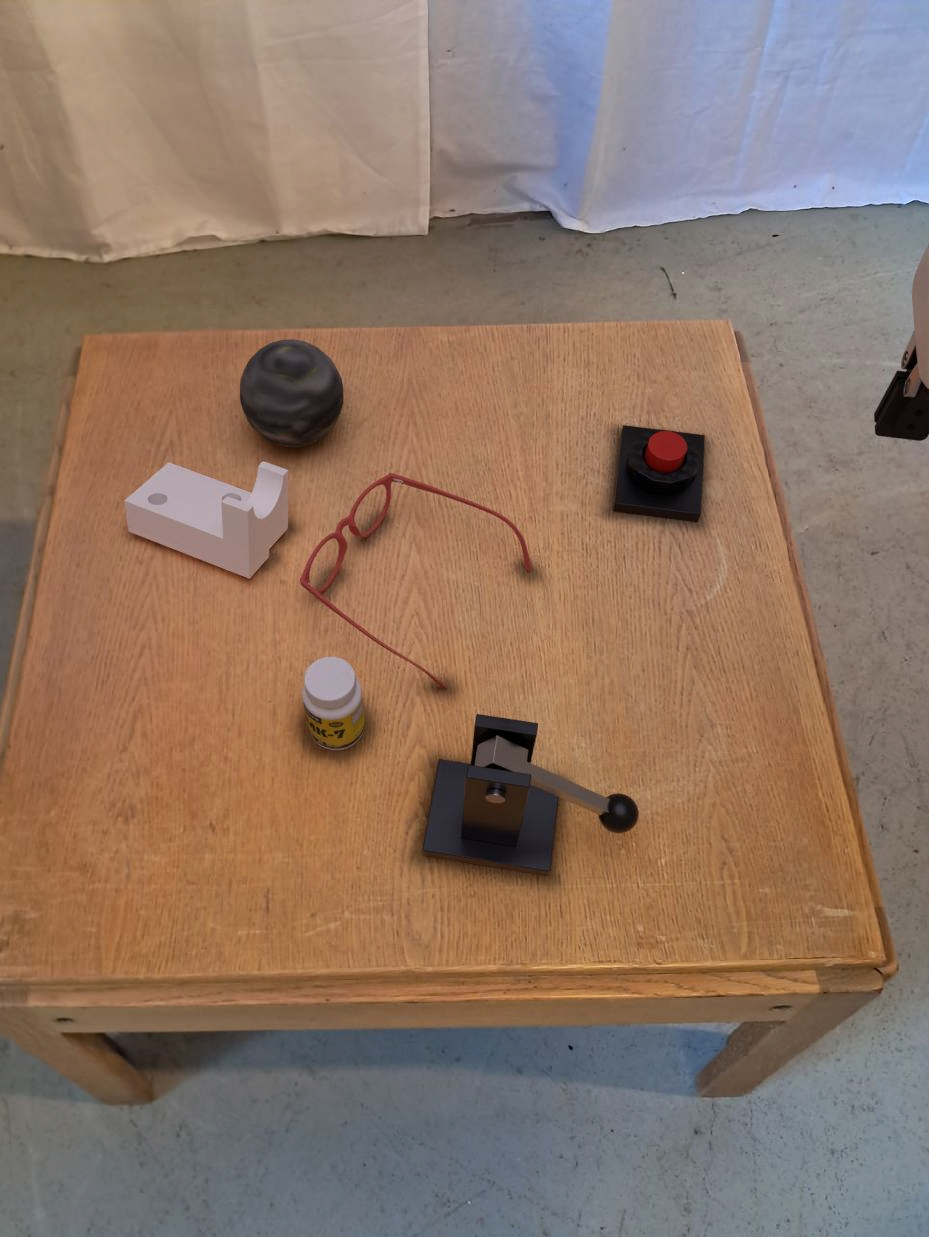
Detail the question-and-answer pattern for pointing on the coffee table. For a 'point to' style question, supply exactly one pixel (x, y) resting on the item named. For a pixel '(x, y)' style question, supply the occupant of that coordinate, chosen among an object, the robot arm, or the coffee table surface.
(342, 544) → the red eyeglasses
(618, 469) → the control block
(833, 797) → the coffee table surface
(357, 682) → the supplement bottle
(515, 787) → the bracket
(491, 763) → the lever
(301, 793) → the coffee table surface
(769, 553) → the coffee table surface
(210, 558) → the bracket
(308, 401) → the decorative stone
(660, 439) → the button
